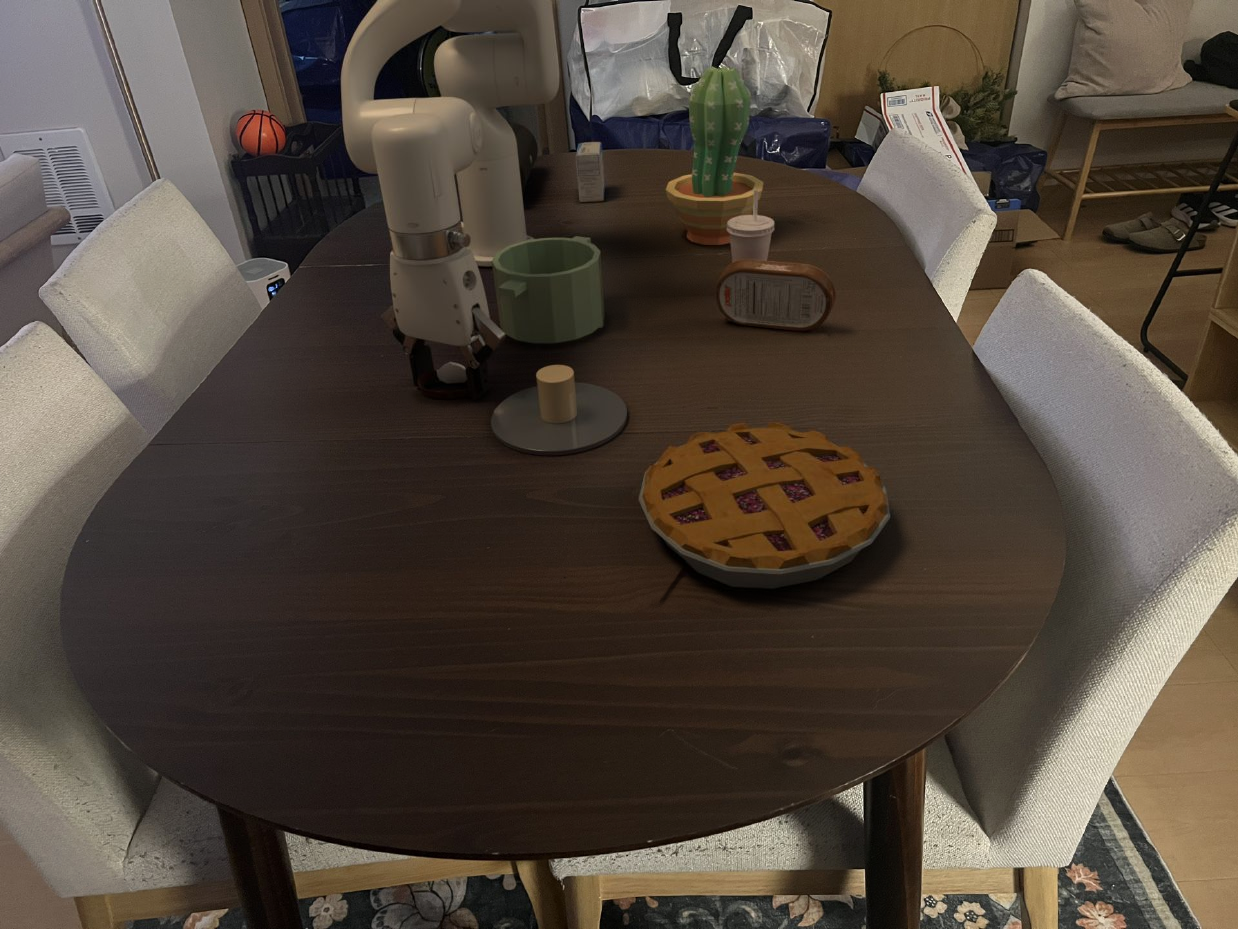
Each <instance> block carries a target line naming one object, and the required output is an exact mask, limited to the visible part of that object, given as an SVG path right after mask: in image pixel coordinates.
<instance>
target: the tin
mask: <svg viewBox="0 0 1238 929" xmlns="http://www.w3.org/2000/svg"><path fill="white" fill-rule="evenodd" d="M714 298H715V302H716V306H717V307H718V309H719V311H720V313H721V314H722V315H723V316H724V317H725V318H726V319H727V320H729V321H731V322H732V323H735V324H737V325H742V326H747V327H757V328H766V329H775V330H776V329H777V330H784V331H785V330H786V331H795V332H807V331H812V330H814V329H816V328H818V327H819V326H821V325H822V324H824V322H825V321H826V320H827V319H828V317H829V316H830V314H831V311H832V309H833V308H834V306H835V302H836V288H835V285H834V283H833V281H832V279H831V278H830V276H829V275H828V274H827V273H826V272H825V271H824V270H823V269H821V268H819V267H817V266H815V265H812V264H808V263H798V262H787V261H775V260H767V261H766V260H755V259H741V260H738V261H735V262H731V263H729V264H728V265H727V266H726V267H725V268H723V269H722V271H721V272H720V275H719V277H718V279H717V283H716V284H715V288H714Z"/></svg>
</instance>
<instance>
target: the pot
mask: <svg viewBox="0 0 1238 929" xmlns="http://www.w3.org/2000/svg"><path fill="white" fill-rule="evenodd" d="M601 255H602V254H601V250H600V249H599V248H598V247H597V246H596V245H595V244H594V243H592V238H591V237H586V236H577V235H575V236H574V237H572V238H570V237H541V238H534V240H527V241H522V242H519V243H516V244H513V245H510V246H507V247H506V248H504V249H502V250H501V251H499V252H497V253H496V254H495V256H494V258H493V260H492V266H493V267H492V273H493V280H494V288H495V295H496V296H495V297H496V302H497V311H498V318H499V319H498V320H499V326H500V329H501V330H502V331H503V332H504V333H505V335H507V336H508V337H510V338H512V339H514V340H516V341H519V342H524V343H529V344H530V343H531V344H559V343H565V342H570V341H576V340H578V339H581V338H583V337H586V336H588V335H591V334H593V333H594V332H596V331H597V330H598V329H600V328H601V329H602V328H603V327H604V324H605V319H604V318H605V303H604V302H605V301H604V286H603V272H602V271H603V270H602V256H601Z"/></svg>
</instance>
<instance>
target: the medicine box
mask: <svg viewBox="0 0 1238 929" xmlns="http://www.w3.org/2000/svg"><path fill="white" fill-rule="evenodd" d="M603 156H604V155H603V144H602V142H601V141H591V142H590V141H589V142H580V143H578V144H577V149H576V154H575V166H576V167H575V168H576V177H577V178H576V179H577V189H578V190H577V191H578V200H579V202H580V203H596V202H597V203H599V202H603V201H604V199H605V172H604V159H603Z"/></svg>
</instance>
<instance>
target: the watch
mask: <svg viewBox="0 0 1238 929" xmlns="http://www.w3.org/2000/svg"><path fill="white" fill-rule="evenodd" d="M466 368H467V367H465V365H462V364H460V363H457V362H452V361H449V362H446V363H444V364H443V365H442V366H441V367H440V368H439V369H434V371H428V372H425V373H423V374H421V375H420V376H419V378H418V385H419V387H418V388H419V390H420V393H421V394H422V395H423V396H424V397H426V398H431V399H437V400H456V399H459V398H467V397H470V396H469V389H468V387H467V388H464V389H463V388H462V389H455V390H438V391H437V390H432V389H427V388H425V386H426V385H428V384H430V383H433V382H443V383H444V384H461V383H465V382H467V377H466Z"/></svg>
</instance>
